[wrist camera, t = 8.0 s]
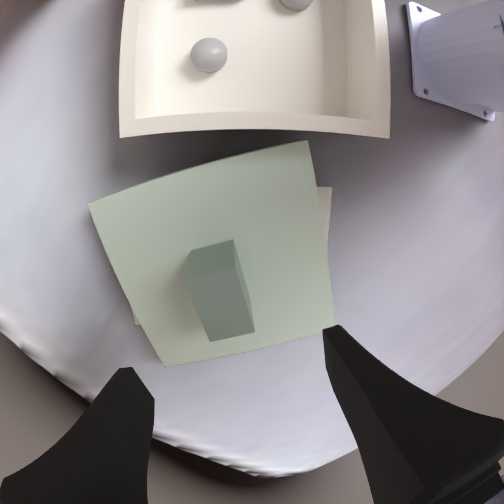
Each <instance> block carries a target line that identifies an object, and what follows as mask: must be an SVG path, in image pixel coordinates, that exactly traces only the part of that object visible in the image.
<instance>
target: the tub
mask: <svg viewBox="0 0 504 504" xmlns="http://www.w3.org/2000/svg"><path fill="white" fill-rule="evenodd" d="M390 108H391V86H390V56H389V41H388V29H387V19H386V10H385V3H384V0H125V4H124V12H123V22H122V32H121V46H120V64H119V131H120V138H124V137H133V136H143V135H152V134H162V133H174V132H187V131H205V130H235V129H267V130H298V131H316V132H329V133H341V134H351V135H360V136H370V137H378V138H386V139H390Z"/></svg>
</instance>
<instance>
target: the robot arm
mask: <svg viewBox="0 0 504 504" xmlns="http://www.w3.org/2000/svg"><path fill="white" fill-rule="evenodd" d="M406 9H407V16H408V23H409V32H410V43H411V56H412V75H413V92H414V94H415V95H416V96H418V97H421V98H424V99H428V100H431V101H434V102H438V103H441V104H444V105H447V106H450V107H453V108H456V109H459V110H461V111H464V112H467V113H470V114H472V115H475V116H477V117H480V118H482V119H485V120H487V121H491V122H493V121H494V118H495V111H498V112H504V0H489V1H485V2H481V3H478V4H474V5H470V6H467V7H464V8H460V9H457V10H454V11H451V12H448V13H445V14H442V15H441V14H439V13H437V12H435V11H433V10H431V9H428V8H426V7H424V6H421V5H419V4H417V3H414V2H408V3H407V4H406ZM417 9H418V10H419V11H418V10H417ZM424 89H425V91H426V94H425V93H424ZM483 112H484V113H483ZM322 333H323V342H324V353H325V363H326V369H327V372H328V376H329V379H330V382H331V385H332V388H333V391H334V393H335V395H336V398H337V400H338V402H339V404H340V406H341V409H342V411H343V413H344V415H345V417H346V420H347V422H348V424H349V426H350V428H351V431H352V433H353V435H354V438H355V440H356V443H357V445H358V448H359V451H360V455H361V458H362V461H363V464H364V468H365V471H366V475H367V478H368V482H369V486H370V490H371V494H372V497H373V501H374V504H504V475H503V476H501V477H500V475H499V473H498V471H500V470H501V467H500V465H499V463H498V461H499V460H500V459H501V458H502V457H503V456H504V420H503V419H499V418H495V417H490V416H486V415H482V414H478V413H475V412H472V411H469V410H466V409H463V408H461V407H458V406H456V405H453V404H451V403H449V402H446V401H444V400H442V399H439V398H437V397H435V396H433V395H431V394H429V393H428V392H426V391H424V390H422V389H420V388H418V387H417V386H415V385H413V384H412V383H410V382H409V381H407V380H405V379H404V378H402V377H401V376H399V375H398V374H397V373H395V372H394V371H392V370H391V369H390V368H388V367H387V366H386V365H384V364H383V363H382V362H380V361H379V360H378V359H377V358H376V357H374V356H373V355H372V354H371V353H369V352H368V351H367V350H366V349H365V348H364V347H363V346H361V345H360V344H359V343H358V342H357V341H356V340H355V339H354V338H353V337H352V336H351V335H350V334H349V333H348V332H347V331H346V330H345V329H344V328H343V327H342V326H340V325H336V326H332V327H329V328H325V329H322ZM153 426H154V398H153V396H152V395H151V394H150V392H149V391H148V389H147V388H146V387H145V385H144V384H143V382H142V381H141V379H140V378H139V377H138V375H137V374H136V372H135V371H134V369H133V368H132V367H127V368H119V369H118V370H117V371H116V373H115V374H114V375H113V376H112V378H111V379H110V380H109V381H108V383H107V384H106V385H105V386H104V388H103V389H102V390H101V392H100V393H99V394H98V396H97V397H96V398H95V399H94V401H93V402H92V403H91V405H90V406H89V407H88V409H87V410H86V411H85V412H84V413H83V414H82V416H81V417H80V418H79V419H78V421H77V422H76V423H75V424H74V425H73V426H72V428H71V429H70V430H69V431H68V432H67V433H66V434H65V435H64V436H63V437H62V438H61V439H60V440H59V441H58V442H57V443H56V444H55V445H54V446H52V447H51V448H50V449H49V450H48V451H46V452H45V453H44V454H43V455H42V456H40V457H39V458H38V459H36V460H35V461H33V462H32V463H30V464H29V465H27V466H26V467H24V468H23V469H21V470H19V471H17V472H16V473H13V474H12V475H10V476H8V477H5V478H4V479H3V481H2V484H1V487H0V504H148V499H147V468H148V460H149V453H150V445H151V439H152V432H153Z"/></svg>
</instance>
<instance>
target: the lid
mask: <svg viewBox="0 0 504 504" xmlns="http://www.w3.org/2000/svg"><path fill="white" fill-rule="evenodd" d="M87 205H88V208H89V210H90V213H91V216H92V218H93V221H94V224H95V226H96V229H97V231H98V234H99V236H100V239H101V241H102V244H103V246H104V249H105V251H106V253H107V256H108V258H109V260H110V263H111V265H112V267H113V269H114V272H115V274H116V276H117V278H118V280H119V282H120V284H121V287H122V289H123V291H124V293H125V295H126V297H127V299H128V301H129V303H130V305H131V307H132V309H133V311H134V313H135V315H136V317H137V319H138V320H139V322H140V324H141V326H142V328H143V330H144V332H145V333H146V335H147V337H148V339H149V341H150V342H151V344H152V346H153V348H154V349H155V351H156V353H157V355H158V356H159V358H160V360H161V361H162V363H163V365H164V366H165V367H167V366H173V365H179V364H186V363H191V362H197V361H203V360H208V359H213V358H218V357H223V356H228V355H233V354H238V353H242V352H247V351H251V350H256V349H260V348H264V347H269V346H273V345H277V344H281V343H285V342H289V341H292V340H296V339H300V338H304V337H307V336H311V335H315V334H318V333H322V329H325V328H329V327H332V326H335V319H334V308H333V298H332V289H331V280H330V272H329V264H328V256H327V248H326V241H325V234H324V227H323V221H322V214H321V208H320V202H319V196H318V190H317V185H316V179H315V174H314V168H313V163H312V158H311V153H310V148H309V143H308V140H301V141H296V142H291V143H286V144H281V145H276V146H272V147H267V148H263V149H258V150H254V151H250V152H246V153H242V154H238V155H234V156H230V157H226V158H222V159H218V160H215V161H211V162H207V163H204V164H200V165H197V166H193V167H190V168H186V169H183V170H180V171H177V172H173V173H170V174H167V175H164V176H161V177H158V178H155V179H151V180H148V181H146V182H143V183H140V184H137V185H134V186H131V187H128V188H125V189H123V190H120V191H117V192H115V193H112V194H109V195H107V196H104V197H101V198H99V199H96V200H94V201H92V202H90V203H89V204H87Z"/></svg>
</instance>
